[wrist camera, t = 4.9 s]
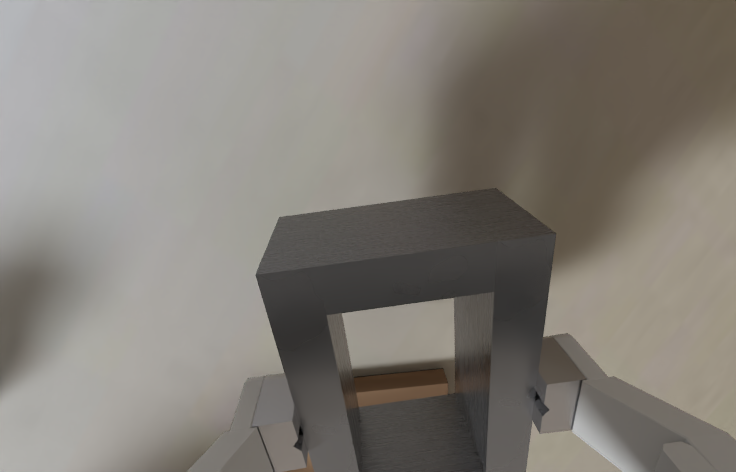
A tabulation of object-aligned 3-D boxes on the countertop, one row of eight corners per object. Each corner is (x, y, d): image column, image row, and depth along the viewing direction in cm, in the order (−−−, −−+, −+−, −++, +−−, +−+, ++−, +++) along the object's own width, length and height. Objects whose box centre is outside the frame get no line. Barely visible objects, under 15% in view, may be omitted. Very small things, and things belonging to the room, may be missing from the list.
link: (279, 216, 10) (255, 275, 7) (495, 187, 10) (556, 233, 7) (331, 432, 14) (329, 524, 11) (486, 410, 14) (522, 495, 11)
